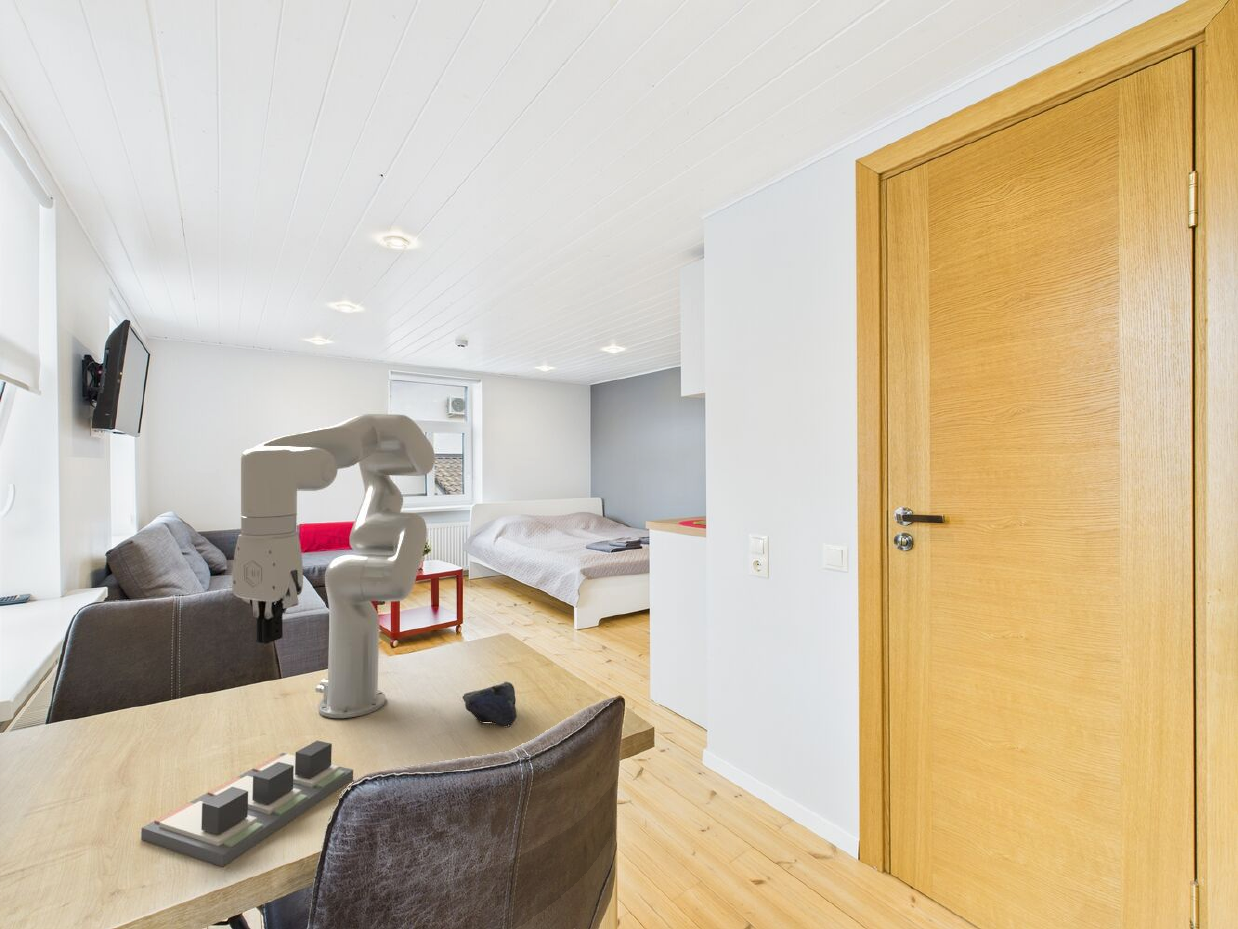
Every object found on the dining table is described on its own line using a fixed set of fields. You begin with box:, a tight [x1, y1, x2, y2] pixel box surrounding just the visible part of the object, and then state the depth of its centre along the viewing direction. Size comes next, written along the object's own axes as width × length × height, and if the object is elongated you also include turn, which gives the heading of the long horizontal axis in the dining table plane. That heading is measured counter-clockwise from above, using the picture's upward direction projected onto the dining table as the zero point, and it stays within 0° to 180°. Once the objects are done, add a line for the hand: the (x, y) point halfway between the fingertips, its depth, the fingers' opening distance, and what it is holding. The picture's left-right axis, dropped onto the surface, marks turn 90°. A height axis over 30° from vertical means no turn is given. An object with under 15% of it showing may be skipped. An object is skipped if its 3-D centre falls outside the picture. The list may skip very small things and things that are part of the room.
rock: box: [462, 681, 518, 727], centre depth 112 cm, size 16×8×10 cm
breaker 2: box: [294, 740, 333, 779], centre depth 87 cm, size 3×4×4 cm
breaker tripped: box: [252, 762, 294, 805], centre depth 80 cm, size 3×4×4 cm
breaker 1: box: [201, 787, 248, 835], centre depth 74 cm, size 3×4×4 cm
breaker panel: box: [140, 752, 354, 868], centre depth 81 cm, size 15×21×2 cm
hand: (269, 640), depth 88 cm, fingers closed
